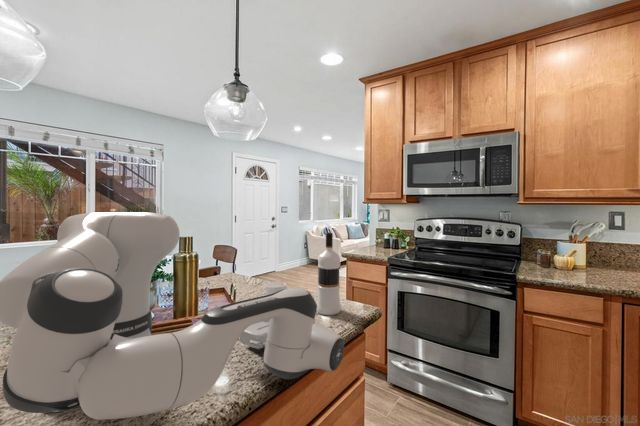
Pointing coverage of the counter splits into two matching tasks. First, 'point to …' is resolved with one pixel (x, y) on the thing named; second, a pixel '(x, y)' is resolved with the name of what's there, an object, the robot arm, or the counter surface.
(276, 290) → the white cup
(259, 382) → the counter surface
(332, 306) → the vodka
